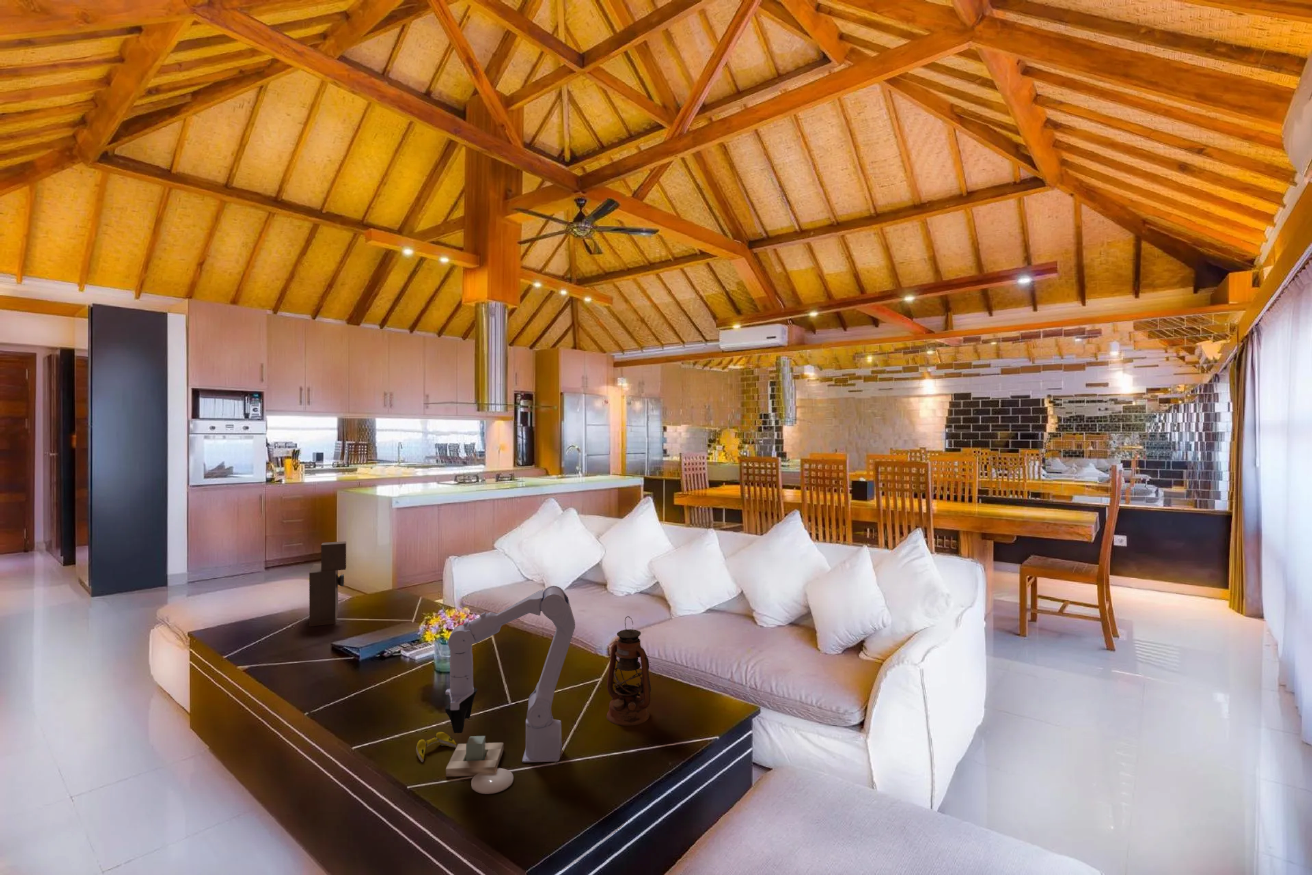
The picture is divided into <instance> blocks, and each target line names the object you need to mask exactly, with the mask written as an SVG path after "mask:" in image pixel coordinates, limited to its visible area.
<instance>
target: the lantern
mask: <svg viewBox="0 0 1312 875" xmlns="http://www.w3.org/2000/svg"><path fill="white" fill-rule="evenodd" d="M627 618H629V619H631V622H632V624H634V622H633V619H632V618H631V617H630V616H629V615H627V616H626V617H625V619H624V621H626V620H627ZM626 624H627V623H626V622H624V626H625V627H624V628H625V629H621V630H620V631H617V633H616V635H617V637H619V638H618V639H617V640H615V641H614V642H613V643H612V645H611V647H610V649H611V651H610V659H609V664H608V666H609V667H608V673H607V679H606V689H607V692H608V694H609V695H610V697H611V700H610V701H609V703H608V704H609V705H608V706H609V707H608V711H607V713H606V719H607V721H609V722H610V723H611V724H614V725H618V726H625V727H631V726H637V725H641V724H643V723H646V721H647V720H648V719H649V718H650V713H649V710H648V707H649V706H650V703H651V691H652V686H651V685H652V684H651V680H650V673H649V670H650V661H649V657H648V655H647V653H646V651H645V650H644V648H643V647H642V645H641V639H640V636H641V635H642V632H641V631H639V630H637V629H634V628H631V629H629V628H627V625H626ZM617 658H618V659H617ZM639 658H640V662H639ZM640 668H641V671H640V672H638V670H639V669H640ZM618 670H619V671H620V675H621V677H622V681H620V680H619V679H618V678H619V677H618V676H617V674H618V672H617V671H618ZM623 671H624V672H634V671H635V674H632V676H630V677H629V678H628V679H625V678H624V674H623ZM638 677H639V678H640V682H638V683H636V684H628V683H627V682H629V681H630V680H633V679H636V678H638ZM614 680H615V681H616V682H615V681H614ZM614 688H615V689H614Z"/></svg>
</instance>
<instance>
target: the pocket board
mask: <svg viewBox="0 0 1312 875" xmlns="http://www.w3.org/2000/svg"><path fill="white" fill-rule="evenodd" d="M503 753H504V742H485V760H480V761H466V743H457V745H456V747H455V750H454V751H453V753H452V755H451V757H450V759H449V761H448V763H447V765H446V768H445V777H472V776H473V777H474V776H475V775H477V774H478V773H495V771H496V768H499V764H500V761H501V758H502V755H503Z"/></svg>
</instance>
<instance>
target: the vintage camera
mask: <svg viewBox="0 0 1312 875" xmlns="http://www.w3.org/2000/svg"><path fill="white" fill-rule="evenodd" d="M320 551H321V552H320V554H321V555H320V559H321V560H320V563H313V564H312V567H311V569H310V570H309V573H308V578H309V579H308V580H309V583H308V585H309V586H308V587H309V589H308V593H309V595H308V596H309V597H308V598H309V600H308V603H309V606H308V607H309V608H308V610H309V611H308V612H309V615H308V616H309V617H308V618H309V623H308V627H315V626H323V625H325V626H326V625H332V624H333V625H334V624H336V623H337V619H338V615H339V586H340V587H344V586H345V575H344V574H341V575H339V571H344V570H346V569H347V541H333V542H329V541H328V542H322V543H321V544H320Z"/></svg>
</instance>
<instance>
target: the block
mask: <svg viewBox="0 0 1312 875" xmlns="http://www.w3.org/2000/svg"><path fill="white" fill-rule="evenodd" d="M485 743H486V735H476V736H475V735H474V736H471V735H470V736H469V738H468V739H467V741H466V743H465V744H466V761H480V760H485Z"/></svg>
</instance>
